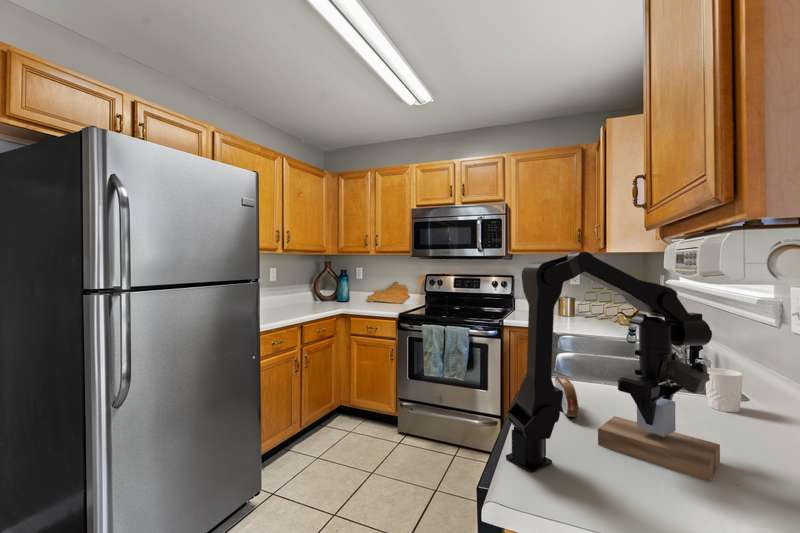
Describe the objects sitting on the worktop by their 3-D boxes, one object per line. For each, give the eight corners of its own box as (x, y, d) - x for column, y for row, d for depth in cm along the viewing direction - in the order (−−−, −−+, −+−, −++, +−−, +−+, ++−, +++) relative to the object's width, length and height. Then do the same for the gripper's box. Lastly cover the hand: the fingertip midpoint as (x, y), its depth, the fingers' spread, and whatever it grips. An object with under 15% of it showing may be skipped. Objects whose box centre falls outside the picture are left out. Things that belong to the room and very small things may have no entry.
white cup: (750, 414, 97) (750, 376, 97) (717, 412, 98) (716, 375, 98) (729, 403, 105) (729, 368, 105) (698, 402, 106) (697, 367, 106)
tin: (579, 422, 92) (579, 388, 92) (566, 421, 93) (565, 388, 93) (565, 401, 107) (565, 372, 107) (553, 400, 108) (553, 371, 108)
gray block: (664, 436, 74) (663, 406, 74) (637, 427, 78) (636, 398, 78) (675, 430, 76) (675, 401, 76) (648, 422, 80) (648, 394, 80)
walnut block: (710, 484, 67) (710, 462, 67) (597, 446, 81) (597, 428, 81) (720, 464, 73) (719, 444, 73) (614, 433, 87) (614, 416, 87)
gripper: (680, 360, 65) (681, 449, 65) (721, 348, 75) (722, 425, 75) (616, 349, 75) (616, 426, 75) (659, 339, 85) (660, 408, 85)
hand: (655, 421), depth 77 cm, fingers closed on gray block, 5 cm apart
